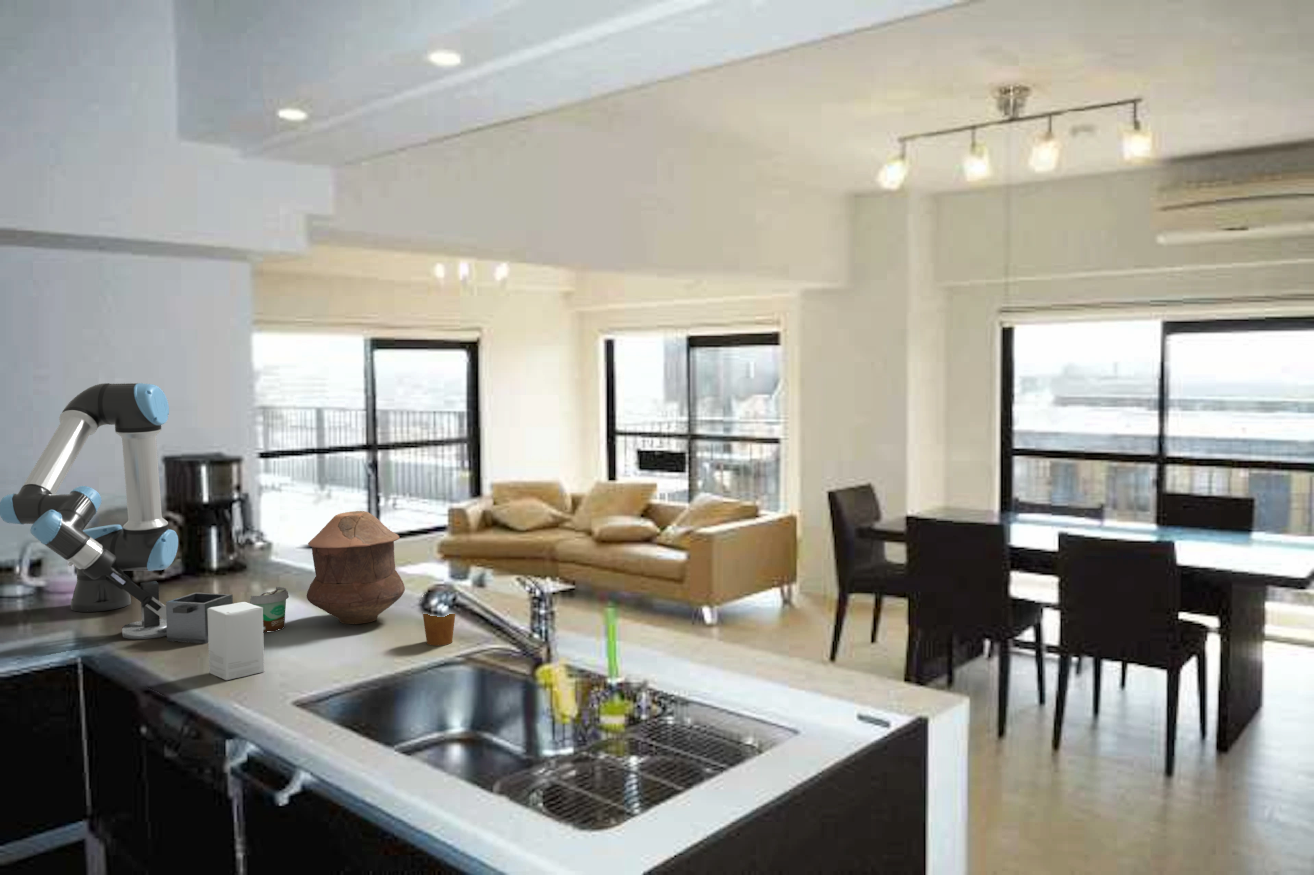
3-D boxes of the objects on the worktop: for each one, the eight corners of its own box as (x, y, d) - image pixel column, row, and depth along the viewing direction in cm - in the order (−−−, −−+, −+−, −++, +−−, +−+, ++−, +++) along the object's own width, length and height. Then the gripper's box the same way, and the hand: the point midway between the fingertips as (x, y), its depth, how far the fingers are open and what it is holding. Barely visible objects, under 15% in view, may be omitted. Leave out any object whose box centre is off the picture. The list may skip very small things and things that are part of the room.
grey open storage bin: (201, 628, 257) (200, 590, 256) (238, 630, 255) (237, 592, 254) (161, 643, 242) (160, 603, 242) (200, 645, 240) (199, 605, 240)
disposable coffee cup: (425, 649, 237) (424, 601, 237) (416, 640, 246) (415, 593, 245) (463, 644, 242) (463, 597, 241) (453, 635, 250) (452, 589, 249)
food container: (271, 635, 250) (271, 597, 249) (250, 634, 251) (249, 596, 250) (298, 623, 262) (297, 587, 261) (278, 622, 263) (277, 586, 263)
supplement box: (265, 672, 219) (264, 606, 218) (226, 681, 212) (224, 614, 211) (247, 664, 225) (245, 600, 224) (208, 673, 218) (206, 607, 217)
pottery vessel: (423, 621, 265) (421, 512, 263) (334, 639, 247) (332, 522, 245) (376, 605, 283) (374, 503, 281) (290, 620, 265) (288, 511, 263)
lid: (127, 642, 243) (125, 590, 242) (118, 631, 253) (116, 582, 252) (183, 633, 251) (182, 584, 250) (173, 623, 261) (171, 575, 260)
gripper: (75, 565, 248) (149, 619, 259) (85, 576, 235) (163, 632, 246) (98, 542, 251) (170, 597, 262) (110, 552, 238) (185, 608, 249)
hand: (166, 614), depth 254 cm, fingers closed on lid, 4 cm apart
